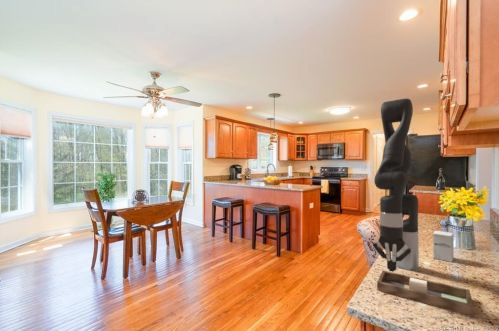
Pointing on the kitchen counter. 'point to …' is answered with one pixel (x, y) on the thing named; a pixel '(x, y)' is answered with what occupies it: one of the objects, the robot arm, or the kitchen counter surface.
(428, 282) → the channel
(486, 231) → the kitchen counter surface
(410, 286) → the cream block
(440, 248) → the supplement box
